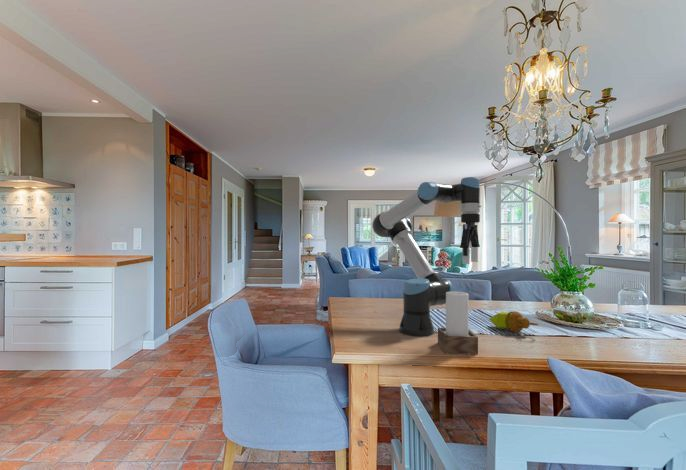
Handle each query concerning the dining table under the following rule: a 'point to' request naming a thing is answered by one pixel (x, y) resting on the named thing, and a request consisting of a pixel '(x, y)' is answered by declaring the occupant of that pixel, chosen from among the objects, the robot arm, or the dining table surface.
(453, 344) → the brown wooden square box
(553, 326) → the dining table surface
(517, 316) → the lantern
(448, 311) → the cup
